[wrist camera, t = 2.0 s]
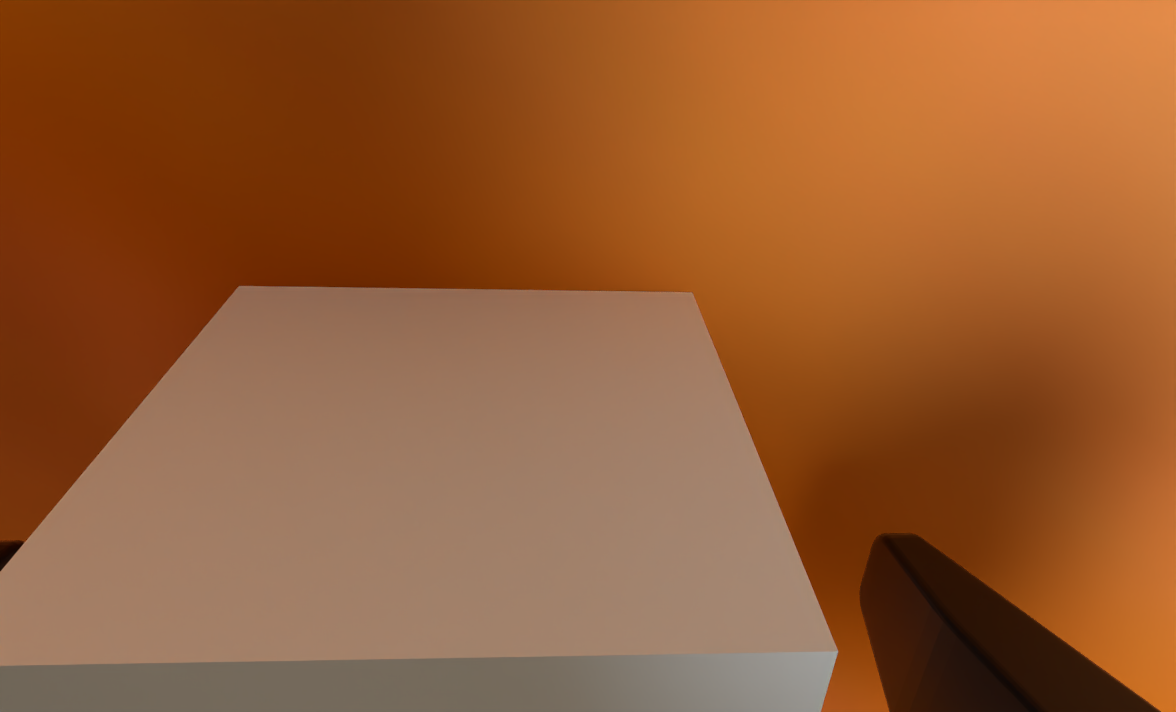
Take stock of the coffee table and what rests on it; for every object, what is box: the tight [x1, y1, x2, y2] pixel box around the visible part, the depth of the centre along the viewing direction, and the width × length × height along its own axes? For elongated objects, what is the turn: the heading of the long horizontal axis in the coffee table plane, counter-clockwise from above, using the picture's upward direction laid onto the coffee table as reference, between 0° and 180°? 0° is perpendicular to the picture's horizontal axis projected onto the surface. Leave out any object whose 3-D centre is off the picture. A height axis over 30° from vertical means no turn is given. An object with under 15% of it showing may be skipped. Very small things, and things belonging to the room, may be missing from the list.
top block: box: [0, 286, 838, 712], centre depth 8 cm, size 5×5×5 cm
